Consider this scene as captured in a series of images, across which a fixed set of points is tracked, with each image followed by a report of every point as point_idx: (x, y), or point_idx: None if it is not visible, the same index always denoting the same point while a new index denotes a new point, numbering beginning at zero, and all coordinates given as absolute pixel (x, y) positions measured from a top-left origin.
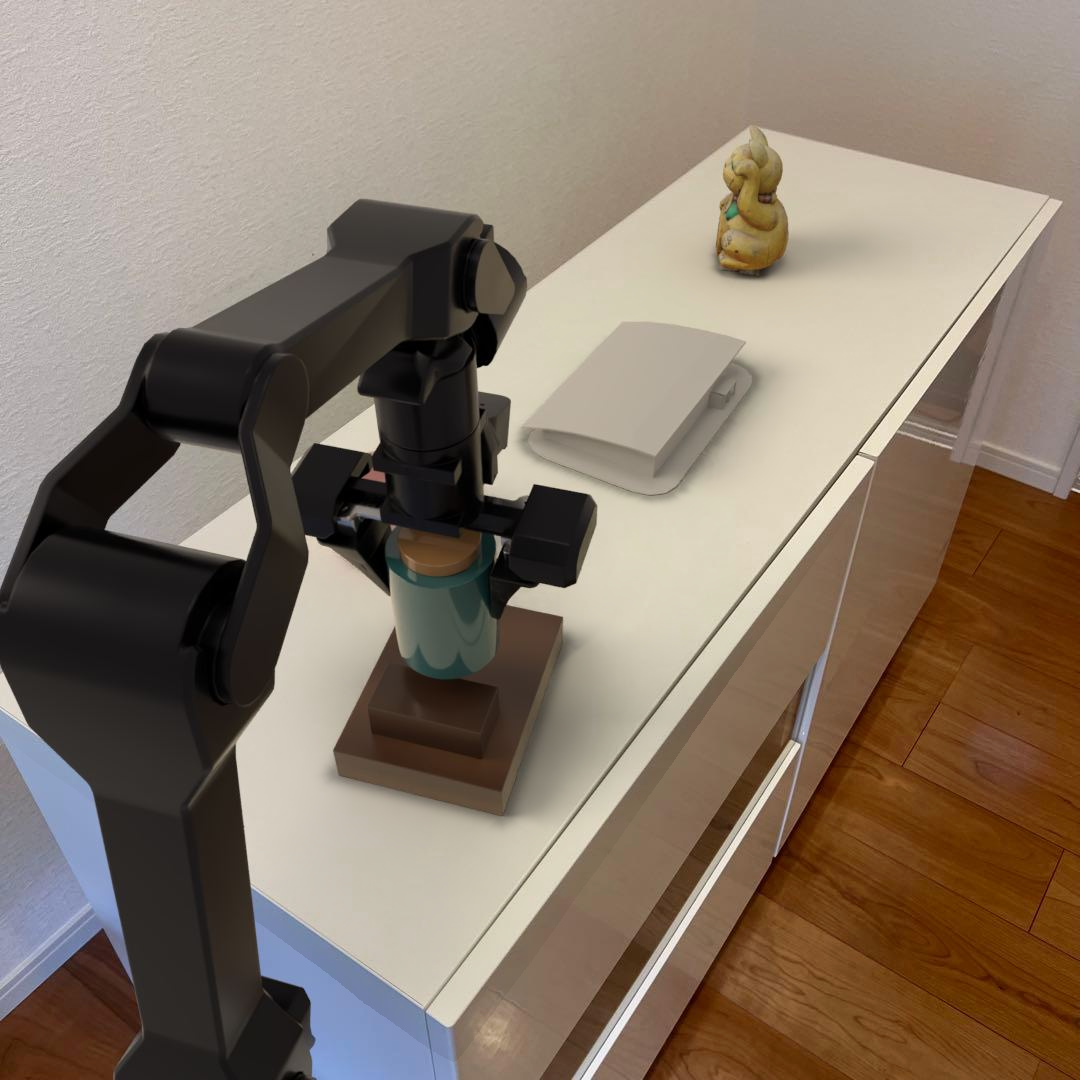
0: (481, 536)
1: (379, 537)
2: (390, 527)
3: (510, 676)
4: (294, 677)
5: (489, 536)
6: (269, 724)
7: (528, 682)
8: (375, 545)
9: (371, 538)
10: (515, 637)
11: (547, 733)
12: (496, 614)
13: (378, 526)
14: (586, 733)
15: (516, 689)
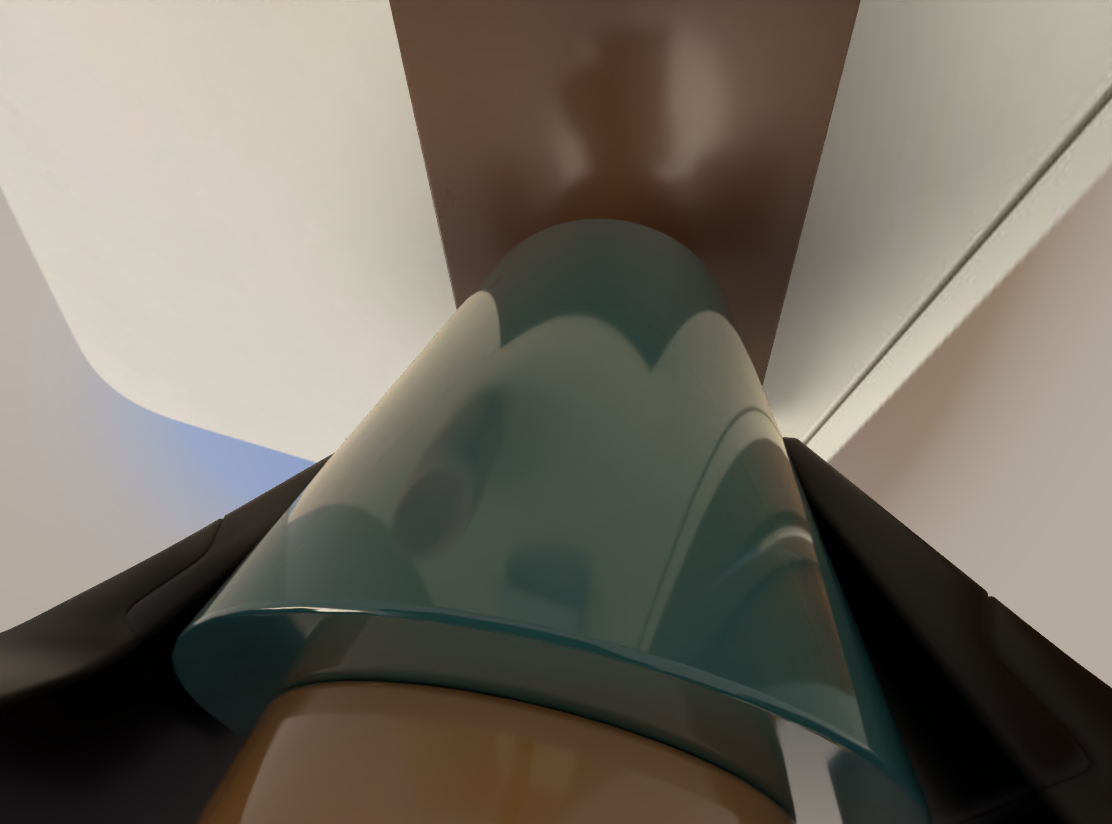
0: (785, 793)
1: (206, 726)
2: (174, 622)
3: (726, 242)
4: (347, 283)
5: (868, 802)
6: (379, 364)
7: (771, 244)
8: (238, 746)
9: (191, 821)
10: (721, 103)
11: (795, 270)
12: None
13: (131, 794)
14: (879, 248)
15: (745, 272)
